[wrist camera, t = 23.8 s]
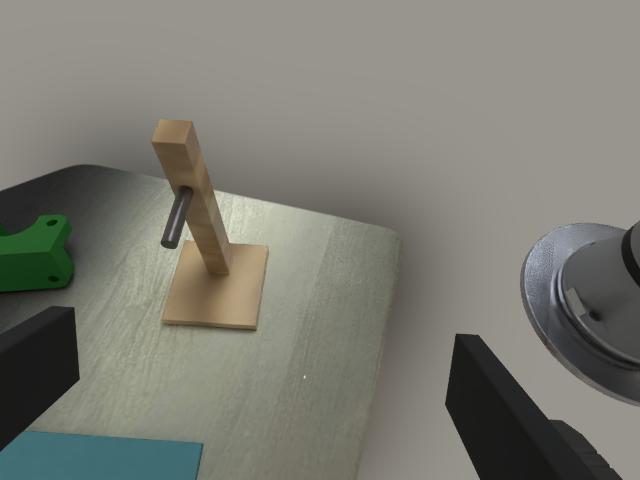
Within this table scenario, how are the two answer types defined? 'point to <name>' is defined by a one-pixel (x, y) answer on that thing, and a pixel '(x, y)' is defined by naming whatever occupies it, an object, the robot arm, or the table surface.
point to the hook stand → (204, 243)
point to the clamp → (36, 256)
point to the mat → (97, 458)
